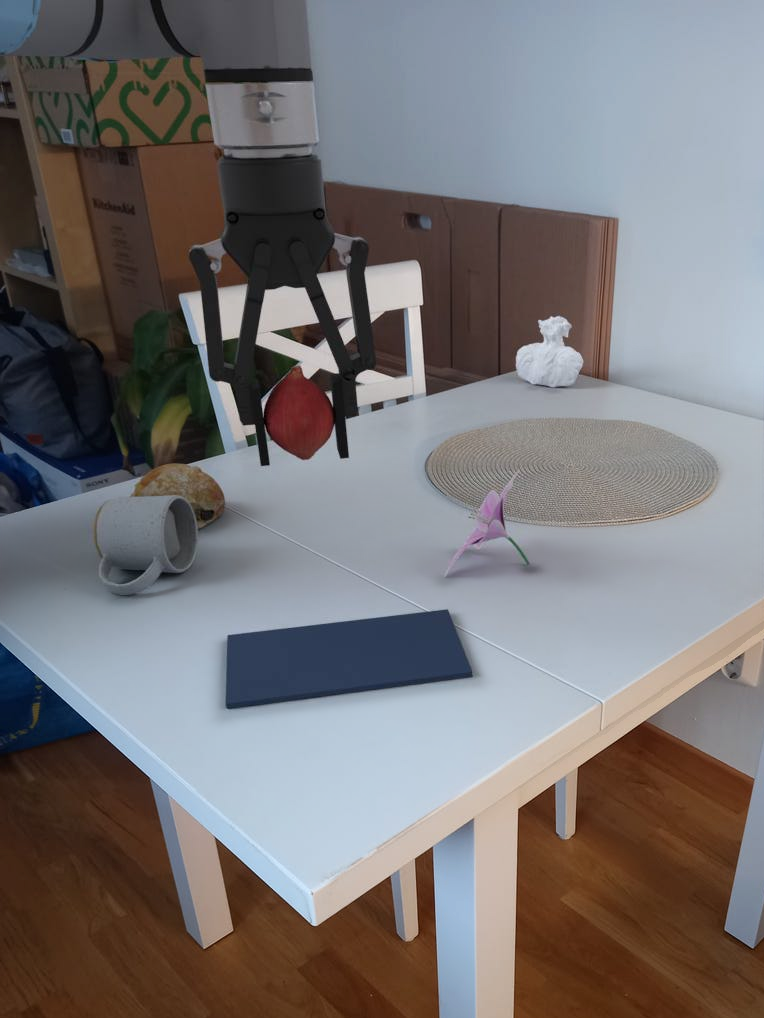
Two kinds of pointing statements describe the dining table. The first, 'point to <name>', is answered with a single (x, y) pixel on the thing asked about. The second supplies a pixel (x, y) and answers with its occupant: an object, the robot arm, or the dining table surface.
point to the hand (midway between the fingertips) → (304, 456)
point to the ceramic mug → (144, 538)
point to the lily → (489, 523)
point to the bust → (550, 357)
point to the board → (342, 658)
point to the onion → (299, 415)
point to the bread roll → (185, 489)
